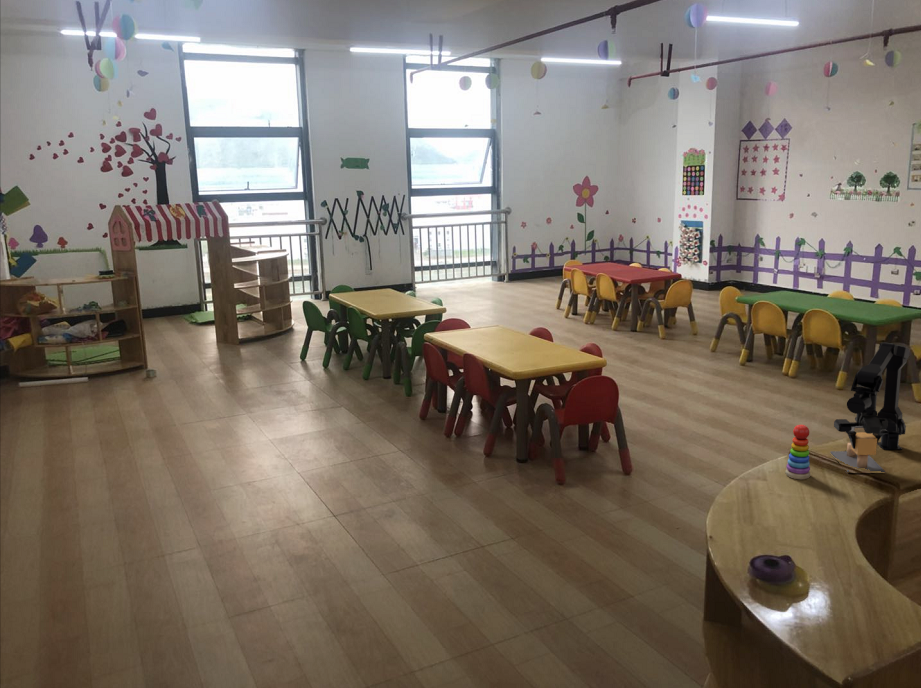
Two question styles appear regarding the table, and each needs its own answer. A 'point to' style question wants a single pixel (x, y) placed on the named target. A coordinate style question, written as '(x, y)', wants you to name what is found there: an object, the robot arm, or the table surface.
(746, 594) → the table surface
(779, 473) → the table surface
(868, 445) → the natural wood cube
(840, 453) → the plate
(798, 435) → the stacking toy
